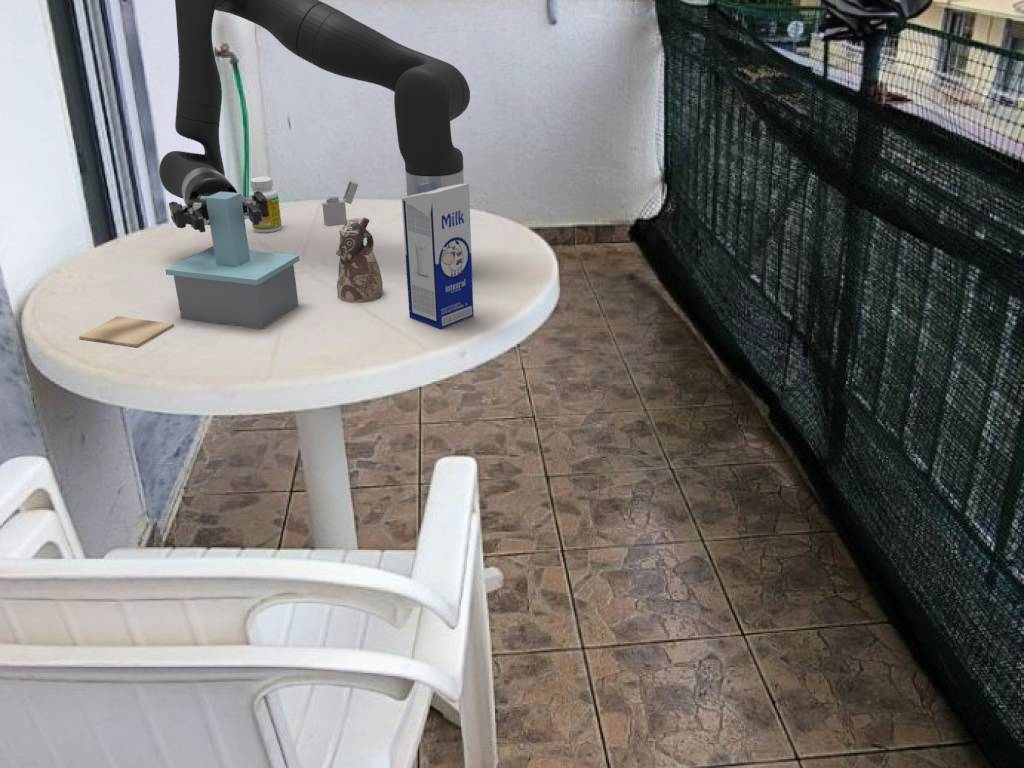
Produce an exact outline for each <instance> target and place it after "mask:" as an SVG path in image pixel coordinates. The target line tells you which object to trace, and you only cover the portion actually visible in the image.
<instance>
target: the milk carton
mask: <svg viewBox="0 0 1024 768" xmlns="http://www.w3.org/2000/svg"><path fill="white" fill-rule="evenodd" d="M416 187H417V191H418V194H415V195H411V196H407V195H406V196H404V197H401V198H400V199H401V208H402V209H401V210H402V223H403V236H404V237H403V238H404V240H403V241H404V253H405V268H406V271H405V272H406V282H407V300H408V312H409V314H408V315H409V319H412V320H415V321H418V322H420V323H422V324H425V325H427V326H431V327H434V328H436V329H438V330H441V329H444V328H447V327H449V326H452V325H455V324H457V323H459V322H462V321H464V320H467V319H469V318H472V317H474V292H473V261H472V260H473V259H472V258H473V257H472V237H471V236H472V233H471V231H472V230H471V206H470V203H471V201H470V198H471V197H470V183H464V184H457V185H452V186H448V187H443V188H438V189H437V185H436V181H435V182H430V183H425V184H422V185H418V186H416Z"/></svg>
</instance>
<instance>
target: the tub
mask: <svg viewBox="0 0 1024 768" xmlns="http://www.w3.org/2000/svg"><path fill="white" fill-rule="evenodd" d="M173 279H174V286H175V291H176V296H177V302H178V307H179V312H180V318H181V319H186V320H191V321H192V320H193V321H199V322H208V323H215V324H221V325H229V326H235V327H236V326H237V327H245V328H254V329H258V330H259V329H261V330H263V329H264V328H266V327H268V326H269V325H270V324H272V323H273V322H275V321H277V320H278V319H279V318H281V317H283V316H284V315H286V314H287V313H288V312H290V311H292V310H293V309H294V308H296V307H298V306H299V298H298V290H297V280H296V274H295V264H293V265H291V266H289V267H288V268H286V269H284V270H283V271H281V272H279V273H278V274H276V275H274V276H272V277H271V278H269V279H267V280H266V281H264V282H262V283H261V284H259V285H251V284H242V283H234V282H225V281H216V280H208V279H199V278H191V277H182V276H173Z"/></svg>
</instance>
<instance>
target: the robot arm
mask: <svg viewBox="0 0 1024 768" xmlns="http://www.w3.org/2000/svg"><path fill="white" fill-rule="evenodd" d="M174 2H175V3H174V5H175V18H176V34H177V35H176V36H177V49H178V51H177V52H178V85H177V99H176V107H175V108H176V110H175V111H176V112H175V119H174V121H175V122H174V125H175V126H174V127H175V131H176V133H177V134H178V135H179V136H180V137H183V138H186V139H189V140H193V141H194V142H197V143H199V144H200V145H202V147H203V150H204V153H195V152H188V151H187V152H186V151H181V150H173V151H170V152H167V153H166V154H164V156H163V157H162V159H161V161H160V164H159V170H158V171H159V173H158V174H159V178H160V181H161V184H162V186H163V188H164V189H165V190H166V191H167V192H168V193H169V194H171V195H173V196H175V197H178V198H181V199H183V201H184V202H183V203H185V205H183V204H182V203H178V201H177V202H176V201H171V202H169V203H168V206H169V213H170V218H171V221H172V222H173V223H174V225H175V226H176V227H177V228H178V229H185V228H186V227H187V225H190V228H192V229H193V230H194V231H195V230H196V231H199V233H206V227H205V226H210V222H209V216H208V210H207V203H206V197H208V196H211V195H213V194H216V193H218V192H231V193H238V191H237V190H236V188H235V186H234V185H233V184H232V182H230V181H229V180H228V179H227V177H226V174H225V167H224V163H223V158H222V152H221V144H220V121H221V112H222V102H223V99H222V98H223V88H222V87H223V86H222V81H221V76H220V75H221V74H220V72H219V68H218V63H217V60H216V56H215V51H214V45H213V44H214V43H213V36H212V35H213V21H214V15H215V11H218V12H223V13H228V14H231V15H233V16H236V17H238V18H242V19H244V20H247V21H248V22H251V23H254V24H256V25H258V26H260V27H261V28H263V29H265V30H266V31H267V32H269V33H270V34H271V35H272V36H273V37H274V38H275V39H276V40H277V41H278V42H279V43H280V45H282V46H283V47H284V48H286V49H287V50H288V51H289V52H290V53H292V54H293V55H295V56H297V57H299V58H301V59H302V60H304V61H306V62H307V63H310V64H311V65H314V66H316V67H317V68H319V69H321V70H323V71H325V72H328V73H331V74H334V75H337V76H340V77H344V78H348V79H353V80H357V81H361V82H365V83H369V84H373V85H378V86H381V87H383V88H386V89H388V90H390V91H392V92H394V95H393V96H394V98H393V101H394V102H393V105H394V117H395V125H396V126H395V127H396V135H397V143H398V149H399V152H400V155H401V157H402V159H403V162H404V168H405V184H406V185H405V186H406V197H407V196H411V195H415V194H418V191H417V187H416V186H418V185H422V184H425V183H430V182H435V181H436V185H437V189H438V188H443V187H448V186H452V185H457V184H465V181H464V180H465V178H464V174H465V173H464V156H463V152H462V151H461V150H460V149H459V148H457V147H455V145H454V144H453V139H452V129H451V121H453V120H455V119H457V118H458V117H459V116H461V115H462V114H463V113H464V112H465V111H466V109H468V106H469V104H470V100H471V90H470V86H469V83H468V82H467V79H466V78H465V76H464V74H463V73H462V72H461V71H460V70H459V69H458V68H457V67H456V66H454V65H452V64H451V63H449V62H447V61H444V60H441V59H439V58H436V57H434V56H431V55H428V54H426V53H422V52H421V51H417V50H416V49H415V50H414V49H412V48H410V47H408V46H405V45H403V44H401V43H399V42H397V41H395V40H393V39H392V38H389V37H388V36H386V35H385V34H383V33H381V32H379V31H378V30H375V29H373V28H372V27H371V26H368V25H367V24H364V23H362V22H361V21H359V20H357V19H355V18H353V17H352V16H349V15H348V14H347V13H345V12H343V11H341V10H339V9H337V8H335V7H333V6H331V5H329V4H328V3H326V2H323V1H321V0H174ZM241 198H242V205H243V212H244V219H245V220H249V221H250V222H251V224H252V223H253V224H254V225H259V221H262V217H268V216H269V211H268V201H267V199H266V197H265V196H264V195H263V194H262V192H259V191H257V192H254V194H253V195H252V198H249V197H246V196H244V195H242V194H241ZM253 224H252V225H253Z"/></svg>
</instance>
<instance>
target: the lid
mask: <svg viewBox="0 0 1024 768" xmlns="http://www.w3.org/2000/svg"><path fill="white" fill-rule="evenodd" d="M241 195H242V193H239V192H237V193H231V192H218V193H216V194H213V195H211V196H208V197H206V203H207V210H208V216H209V222H210V225H209V228H210V229H209V230H210V234H211V240H212V246H210V247H208V248H206V249H204V250H202V251H199V252H198V253H196V254H194V255H191V256H190V257H188V258H185V259H184V260H181V261H180V262H177V263H175V264H174V265H171V266H169V267H167V268H165V269H164V270H165V271H164V272H165V274H166V276H173V277H174V276H182V277H191V278H199V279H208V280H216V281H225V282H234V283H242V284H251V285H259V284H261V283H262V282H264V281H266V280H267V279H269V278H271V277H272V276H274V275H276V274H278V273H279V272H281V271H283V270H284V269H286V268H288V267H289V266H291V265H293V264H294V265H295V264H296V263H298V262H299V261H301V259H300V254H299V255H298V254H288V253H278V252H270V251H260V250H253V249H252V250H250V249H249V248H250V247H249V241H248V237H247V236H248V235H247V228H246V219H244V212H243V205H242V198H241Z"/></svg>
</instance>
